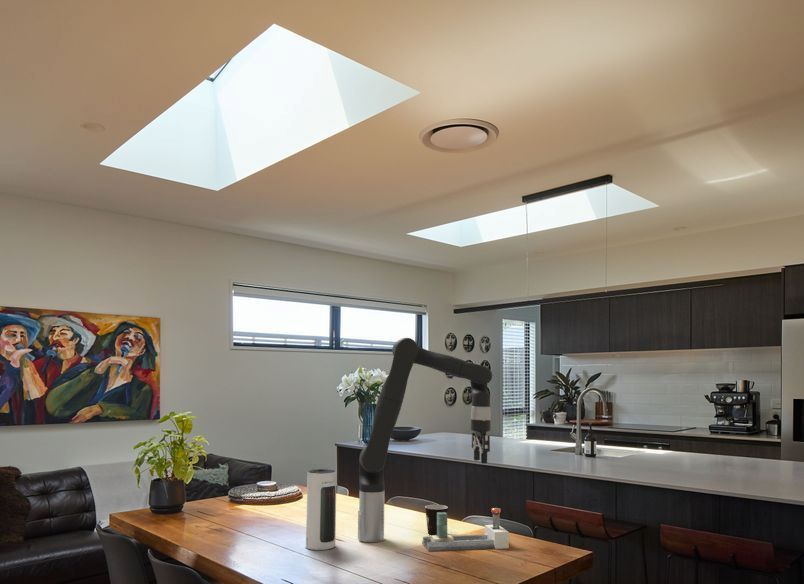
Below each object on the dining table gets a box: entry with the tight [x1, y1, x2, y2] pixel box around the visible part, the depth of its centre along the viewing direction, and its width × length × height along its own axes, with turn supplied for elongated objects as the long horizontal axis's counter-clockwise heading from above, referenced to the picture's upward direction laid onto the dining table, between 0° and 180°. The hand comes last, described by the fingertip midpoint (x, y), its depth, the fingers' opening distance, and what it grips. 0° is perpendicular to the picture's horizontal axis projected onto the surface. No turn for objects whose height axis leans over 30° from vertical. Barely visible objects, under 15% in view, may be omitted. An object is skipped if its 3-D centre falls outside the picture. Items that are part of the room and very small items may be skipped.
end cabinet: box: [484, 524, 510, 550], centre depth 220 cm, size 5×11×6 cm, turn 11°
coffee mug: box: [424, 504, 449, 536], centre depth 236 cm, size 12×9×10 cm
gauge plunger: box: [491, 507, 501, 530], centre depth 221 cm, size 3×3×9 cm
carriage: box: [431, 512, 454, 542], centre depth 217 cm, size 7×5×10 cm
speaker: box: [305, 468, 337, 551], centre depth 217 cm, size 11×10×26 cm
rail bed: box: [421, 533, 495, 552], centre depth 218 cm, size 27×10×3 cm, turn 101°
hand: (480, 461), depth 235 cm, fingers open, 8 cm apart
